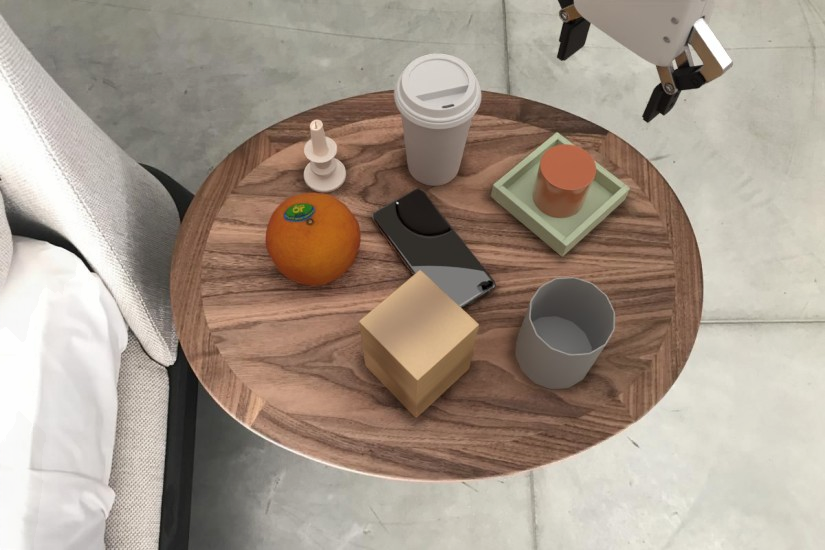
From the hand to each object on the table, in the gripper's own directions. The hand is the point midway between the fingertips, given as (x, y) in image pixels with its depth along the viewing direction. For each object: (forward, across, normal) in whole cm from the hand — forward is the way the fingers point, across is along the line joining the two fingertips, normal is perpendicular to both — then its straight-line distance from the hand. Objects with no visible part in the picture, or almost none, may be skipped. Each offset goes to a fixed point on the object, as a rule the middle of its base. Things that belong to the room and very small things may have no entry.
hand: (611, 81), depth 64 cm
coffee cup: (+25, +17, +4) cm, 31 cm away
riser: (+25, -1, +24) cm, 35 cm away
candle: (+25, +25, +16) cm, 39 cm away
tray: (+25, +3, -3) cm, 25 cm away
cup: (+25, -10, +12) cm, 30 cm away
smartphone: (+25, +8, +14) cm, 29 cm away
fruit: (+25, +17, +24) cm, 38 cm away
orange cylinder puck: (+24, +3, -3) cm, 25 cm away
